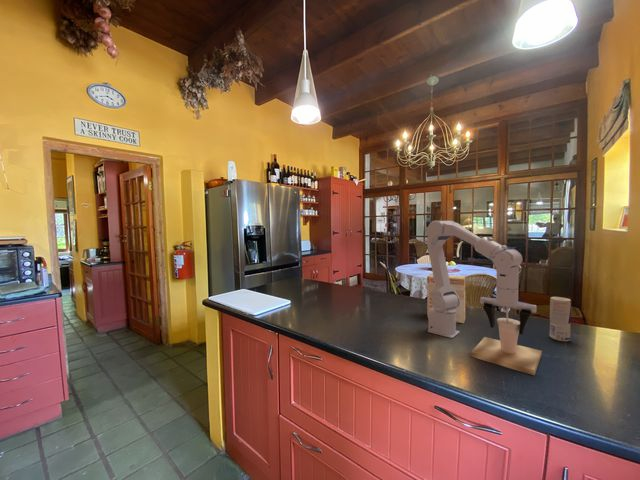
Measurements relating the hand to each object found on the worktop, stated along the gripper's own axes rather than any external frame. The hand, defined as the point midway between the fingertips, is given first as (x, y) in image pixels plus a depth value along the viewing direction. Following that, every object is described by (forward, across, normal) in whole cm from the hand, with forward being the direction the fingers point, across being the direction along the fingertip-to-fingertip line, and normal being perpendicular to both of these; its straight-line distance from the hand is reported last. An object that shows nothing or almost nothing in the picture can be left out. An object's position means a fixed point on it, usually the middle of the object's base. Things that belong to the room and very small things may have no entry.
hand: (506, 329), depth 85 cm
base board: (+8, 0, 0) cm, 8 cm away
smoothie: (+7, 0, -1) cm, 7 cm away
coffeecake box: (+9, +27, -23) cm, 36 cm away
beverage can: (+9, -11, -28) cm, 31 cm away
